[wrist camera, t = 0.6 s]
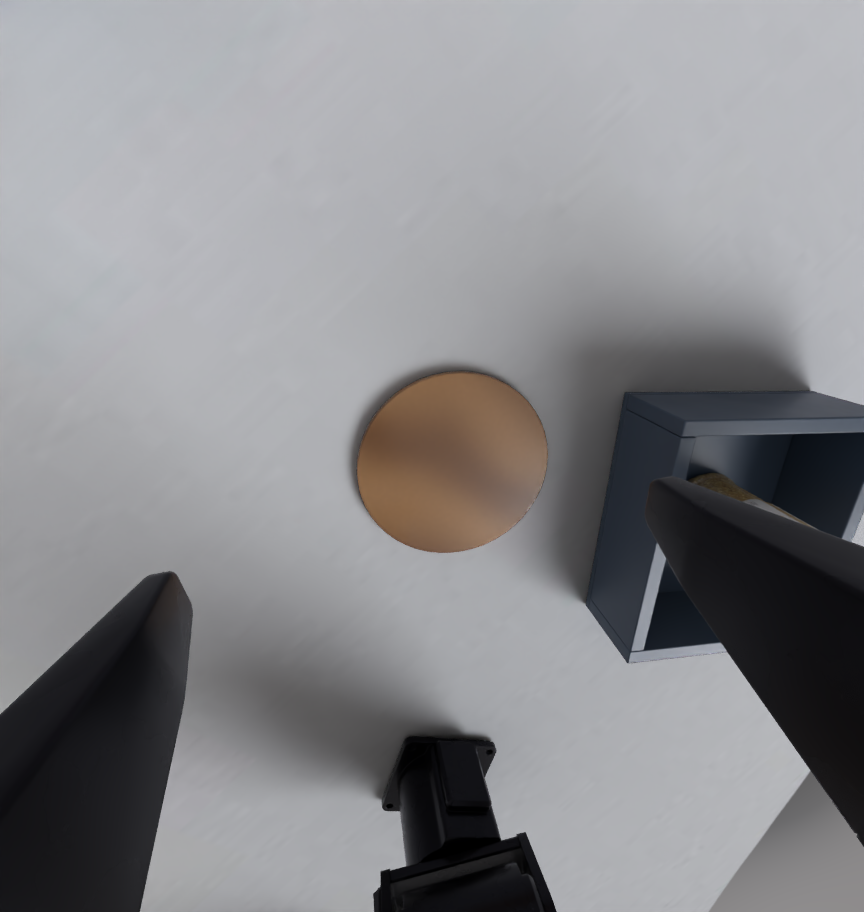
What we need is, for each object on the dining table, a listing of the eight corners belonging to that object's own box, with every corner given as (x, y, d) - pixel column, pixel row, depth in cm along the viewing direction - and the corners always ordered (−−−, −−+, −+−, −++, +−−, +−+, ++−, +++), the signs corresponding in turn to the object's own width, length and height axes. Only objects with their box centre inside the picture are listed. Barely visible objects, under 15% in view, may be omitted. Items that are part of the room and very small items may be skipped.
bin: (746, 590, 33) (811, 642, 28) (585, 604, 31) (627, 663, 26) (812, 390, 28) (903, 416, 23) (624, 392, 26) (684, 420, 21)
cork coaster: (507, 561, 28) (510, 565, 28) (336, 532, 26) (336, 536, 25) (573, 399, 25) (576, 401, 25) (386, 346, 23) (387, 348, 22)
